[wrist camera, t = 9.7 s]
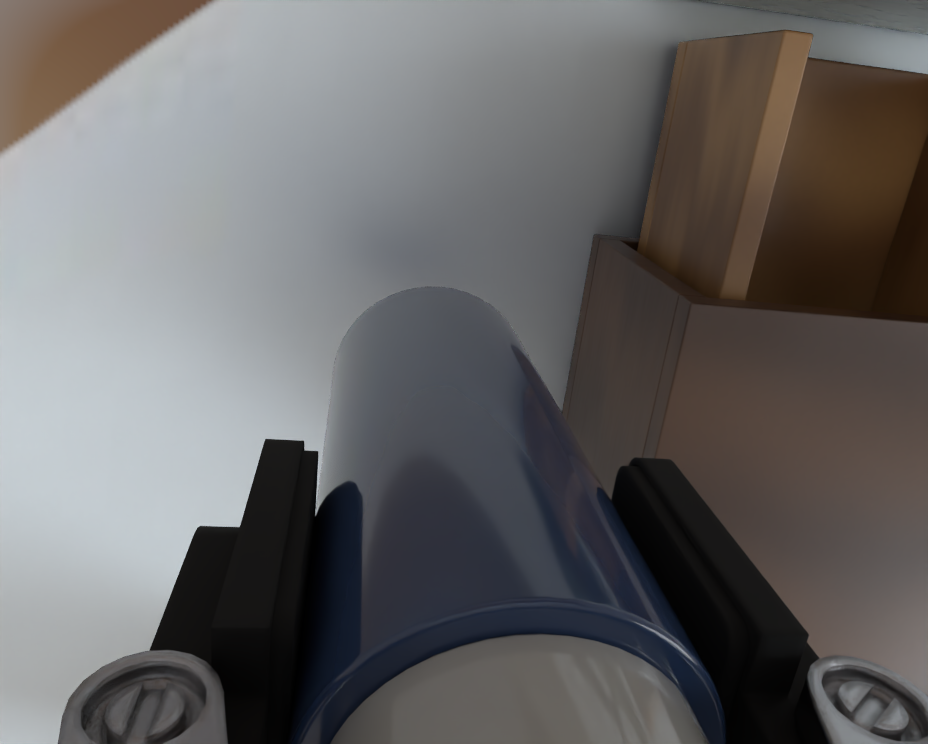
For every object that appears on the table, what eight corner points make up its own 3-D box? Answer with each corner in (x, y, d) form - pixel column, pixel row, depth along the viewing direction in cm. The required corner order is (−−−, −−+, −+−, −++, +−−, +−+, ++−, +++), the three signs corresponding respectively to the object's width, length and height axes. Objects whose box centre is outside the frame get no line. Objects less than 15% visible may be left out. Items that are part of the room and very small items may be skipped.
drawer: (701, -210, 22) (847, -336, 15) (1036, -145, 24) (1299, -233, 17) (599, 326, 28) (672, 406, 21) (873, 348, 30) (1019, 427, 23)
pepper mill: (539, 293, 16) (1021, 915, 4) (511, 468, 18) (808, 1290, 6) (337, 277, 16) (231, 957, 4) (327, 460, 17) (228, 1366, 5)
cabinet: (593, 233, 28) (691, 302, 19) (898, 263, 29) (1108, 338, 21) (538, 543, 32) (596, 706, 24) (803, 551, 34) (943, 705, 26)
